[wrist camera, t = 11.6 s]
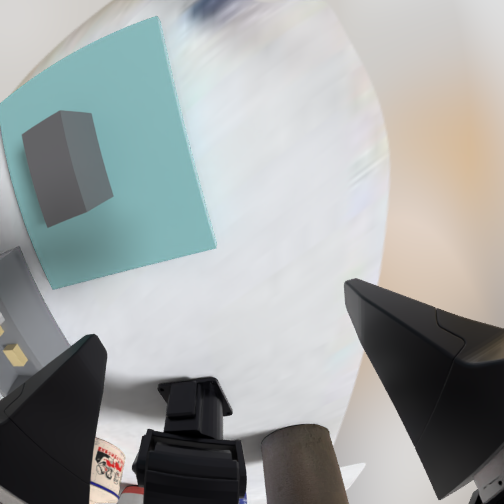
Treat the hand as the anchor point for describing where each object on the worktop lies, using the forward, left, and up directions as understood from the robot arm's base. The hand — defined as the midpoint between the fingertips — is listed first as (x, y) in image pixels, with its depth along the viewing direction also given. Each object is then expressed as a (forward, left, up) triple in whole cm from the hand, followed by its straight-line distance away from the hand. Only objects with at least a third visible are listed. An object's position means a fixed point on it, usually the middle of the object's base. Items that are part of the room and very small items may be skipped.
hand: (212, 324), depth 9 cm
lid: (+7, +8, -12) cm, 16 cm away
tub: (-5, +26, -12) cm, 29 cm away
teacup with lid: (-29, +30, -12) cm, 44 cm away
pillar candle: (-32, -1, -12) cm, 34 cm away
